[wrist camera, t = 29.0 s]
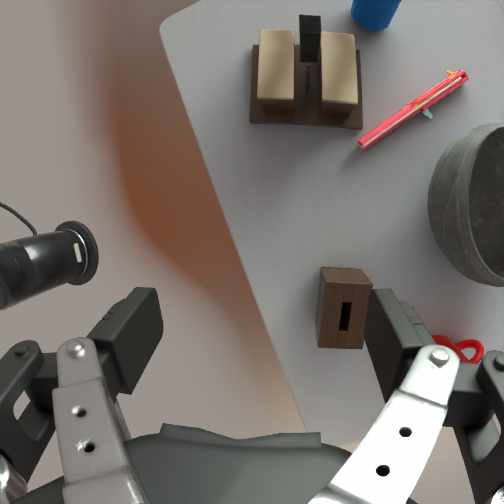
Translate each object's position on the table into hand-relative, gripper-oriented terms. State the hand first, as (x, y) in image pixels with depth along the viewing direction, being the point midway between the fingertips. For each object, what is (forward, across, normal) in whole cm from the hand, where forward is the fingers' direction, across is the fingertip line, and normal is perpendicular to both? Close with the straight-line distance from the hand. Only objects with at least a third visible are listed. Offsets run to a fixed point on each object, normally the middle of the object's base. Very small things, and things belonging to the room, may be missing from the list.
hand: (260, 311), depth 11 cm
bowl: (+33, -30, +2) cm, 44 cm away
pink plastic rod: (+36, -22, -12) cm, 43 cm away
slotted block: (+37, -5, -14) cm, 40 cm away
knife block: (+31, -9, +17) cm, 36 cm away
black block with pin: (+36, -5, -14) cm, 39 cm away
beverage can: (+39, -16, -27) cm, 50 cm away
